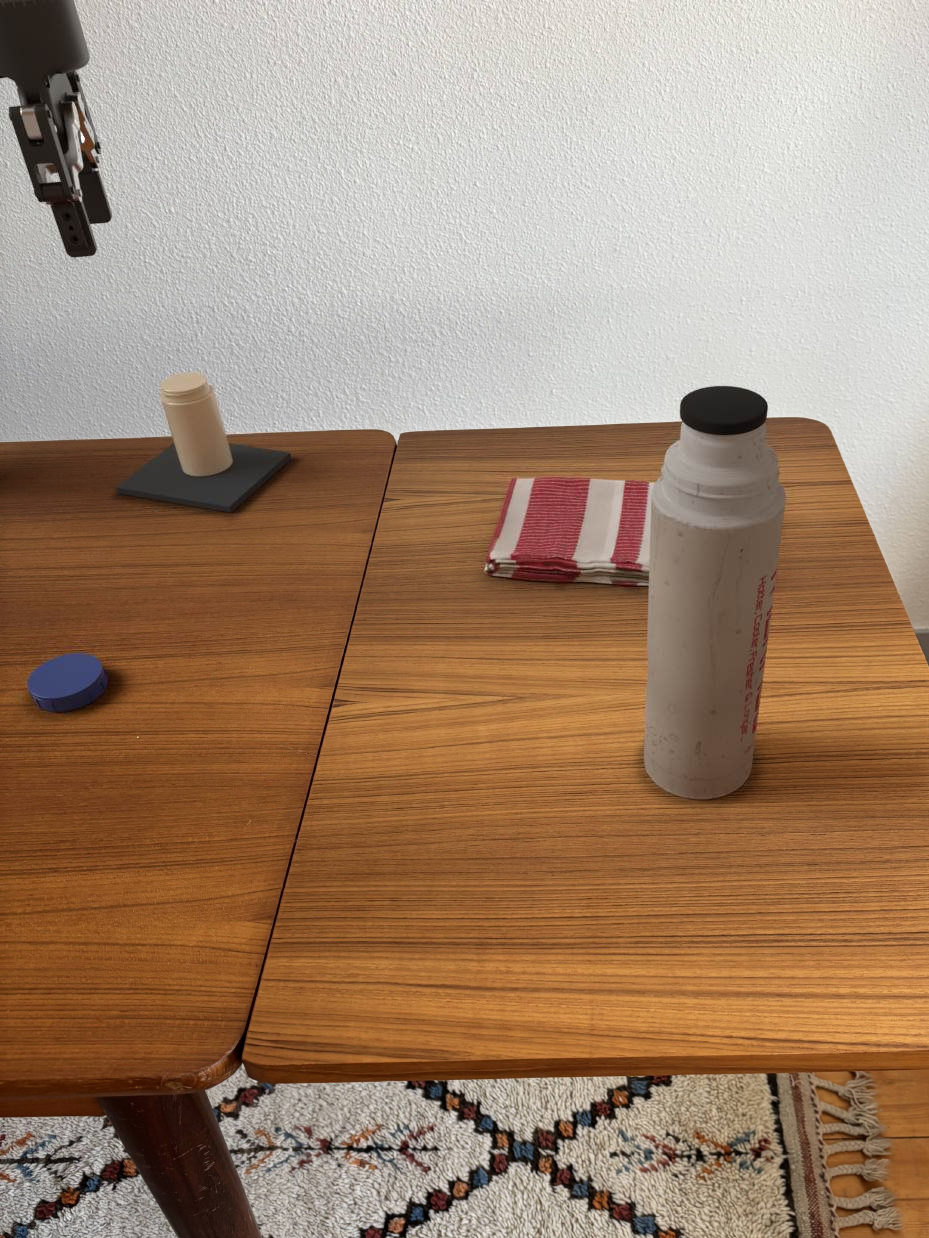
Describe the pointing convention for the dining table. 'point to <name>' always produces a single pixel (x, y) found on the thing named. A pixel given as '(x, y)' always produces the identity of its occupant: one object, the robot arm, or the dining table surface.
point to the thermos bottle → (711, 593)
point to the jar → (195, 424)
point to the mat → (205, 479)
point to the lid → (67, 682)
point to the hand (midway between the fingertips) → (91, 238)
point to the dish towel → (573, 531)
